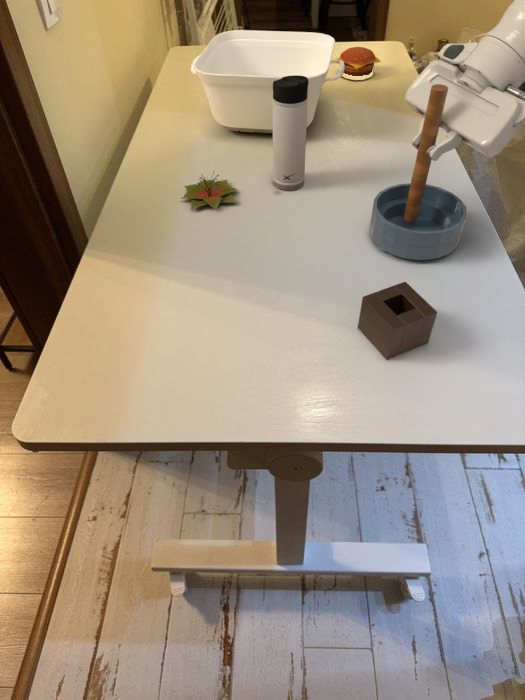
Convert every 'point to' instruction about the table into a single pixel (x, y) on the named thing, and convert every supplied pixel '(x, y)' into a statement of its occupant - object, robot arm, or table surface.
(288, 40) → the white plastic tub
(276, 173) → the travel mug
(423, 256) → the bowl
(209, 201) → the lily flower
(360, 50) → the hamburger
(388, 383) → the table surface
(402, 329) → the holder
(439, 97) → the stirring stick
